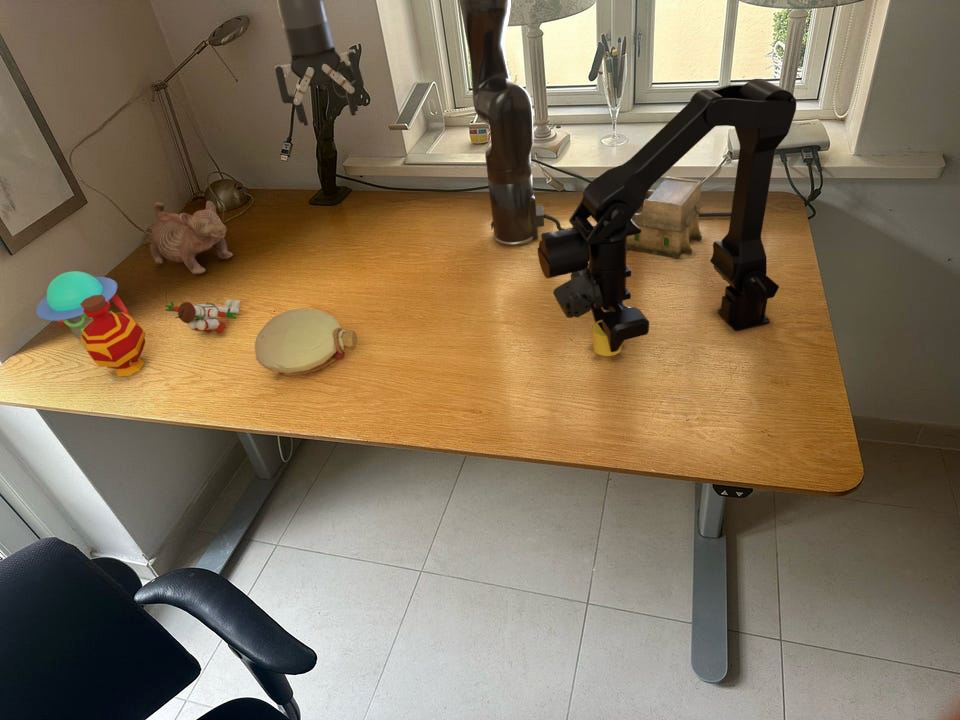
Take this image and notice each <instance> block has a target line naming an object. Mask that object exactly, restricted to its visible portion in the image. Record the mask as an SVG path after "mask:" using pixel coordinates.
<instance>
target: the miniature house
mask: <svg viewBox="0 0 960 720" xmlns="http://www.w3.org/2000/svg"><path fill="white" fill-rule="evenodd" d="M702 183H703V181H702V180H699V179H698V180H697V179H690V178H683V177H676V176H675V177H674V176H667V175H666V176H665V177H664V178H663V181H662V182H661V183H660V185H659V186H658V187H657V188H656V189H649V190H648V192H647V194H646V196H645V199H644V201H643V204H642V206H641V207H640V208H639V209H638V211H637V212H636V213H635V214H634V216H633V217H632V218H631V220H632V221H633V222H634V223H635V224H636V225H637V226H638V227H639V228H640V229H641V233H639V234H635V235H630V236H627V250H630V251H636V252H641V253H646V254H651V255H657V256H662V257H667V258H673V259H676V260H677V259H680V258H681V257H682V255H689V256H691V255H692V254H693V249H692V247H691V243H692V242H693V241H695V242H702V239H703V236H702V234H701V231H700V224H699V218H700V217H699V213H701V208H702V207H703V205H704V204H703V203H701V193H702V192H701V191H702Z"/></svg>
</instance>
